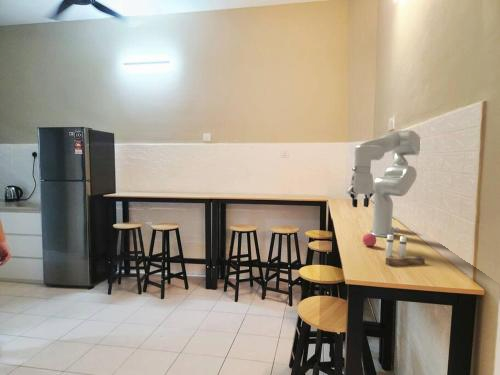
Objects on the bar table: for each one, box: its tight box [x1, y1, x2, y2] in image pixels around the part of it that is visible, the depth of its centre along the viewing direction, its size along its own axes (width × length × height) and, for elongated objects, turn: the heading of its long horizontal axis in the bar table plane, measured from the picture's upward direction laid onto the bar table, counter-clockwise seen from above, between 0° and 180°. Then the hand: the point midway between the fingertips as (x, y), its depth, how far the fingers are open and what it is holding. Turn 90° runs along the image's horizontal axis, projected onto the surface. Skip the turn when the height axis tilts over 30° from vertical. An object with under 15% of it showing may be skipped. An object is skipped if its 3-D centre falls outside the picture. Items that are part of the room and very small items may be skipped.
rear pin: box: [398, 235, 408, 257], centre depth 131 cm, size 3×3×9 cm
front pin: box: [385, 234, 395, 258], centre depth 134 cm, size 3×3×9 cm
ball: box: [362, 233, 377, 247], centre depth 148 cm, size 6×6×6 cm
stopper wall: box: [385, 255, 426, 267], centre depth 124 cm, size 16×2×2 cm, turn 101°
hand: (360, 206), depth 156 cm, fingers open, 5 cm apart
